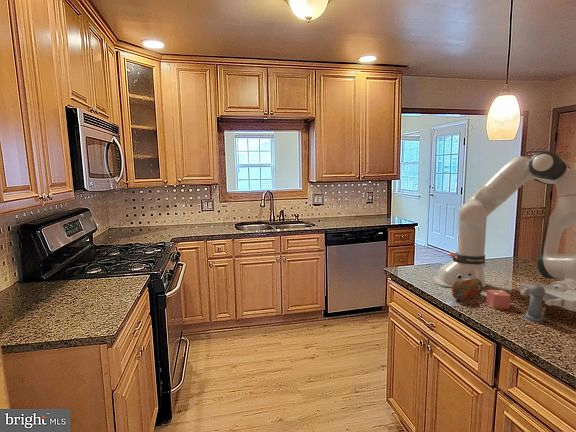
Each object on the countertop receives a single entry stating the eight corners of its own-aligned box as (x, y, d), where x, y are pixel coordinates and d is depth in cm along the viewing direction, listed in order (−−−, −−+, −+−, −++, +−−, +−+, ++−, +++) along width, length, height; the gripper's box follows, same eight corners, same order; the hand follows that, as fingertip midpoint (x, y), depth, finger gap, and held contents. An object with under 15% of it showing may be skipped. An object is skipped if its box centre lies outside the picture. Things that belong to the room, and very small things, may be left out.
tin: (456, 302, 141) (457, 282, 140) (449, 300, 144) (451, 280, 142) (482, 297, 147) (483, 277, 146) (475, 294, 150) (477, 275, 148)
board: (519, 303, 139) (519, 301, 139) (556, 311, 132) (557, 309, 132) (512, 319, 125) (512, 317, 125) (554, 329, 117) (554, 327, 117)
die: (492, 310, 133) (494, 294, 132) (486, 304, 139) (487, 289, 138) (509, 310, 132) (511, 295, 132) (502, 304, 138) (503, 290, 137)
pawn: (530, 321, 121) (534, 287, 119) (522, 315, 126) (525, 282, 125) (546, 322, 121) (550, 288, 119) (537, 316, 126) (541, 283, 124)
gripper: (535, 276, 136) (508, 279, 131) (595, 294, 116) (565, 299, 112) (533, 291, 137) (506, 295, 132) (592, 312, 117) (563, 318, 113)
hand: (534, 297), depth 122 cm, fingers open, 8 cm apart
